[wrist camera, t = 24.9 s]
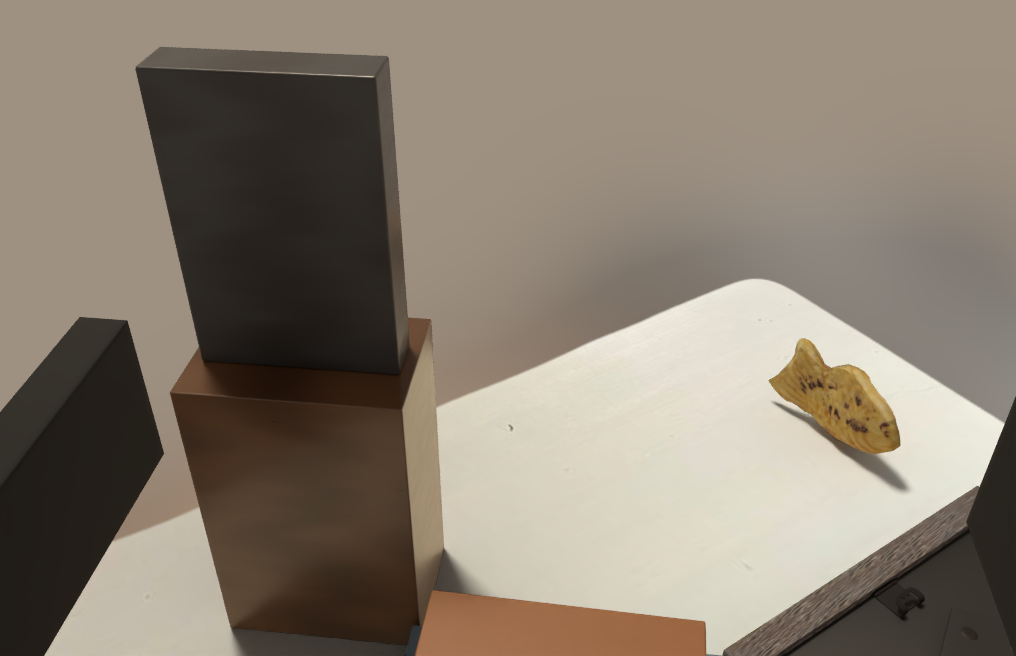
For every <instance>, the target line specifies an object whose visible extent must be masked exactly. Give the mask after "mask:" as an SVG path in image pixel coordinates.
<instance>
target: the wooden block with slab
mask: <svg viewBox="0 0 1016 656" xmlns="http://www.w3.org/2000/svg"><path fill="white" fill-rule="evenodd" d="M136 73H137V78H138V82H139V86H140V91H141V95H142V99H143V104H144V108H145V112H146V117H147V121H148V125H149V130H150V135H151V139H152V143H153V148H154V152H155V156H156V161H157V165H158V169H159V174H160V178H161V182H162V186H163V191H164V195H165V200H166V204H167V209H168V213H169V217H170V221H171V226H172V231H173V235H174V239H175V244H176V248H177V252H178V257H179V261H180V266H181V270H182V274H183V278H184V283H185V287H186V292H187V296H188V300H189V305H190V309H191V313H192V318H193V322H194V327H195V331H196V335H197V340H198V344H199V348H198V349H197V351H196V352H195V354H194V355H193V357H192V359H191V360H190V362H189V363H188V365H187V366H186V368H185V370H184V371H183V373H182V374H181V376H180V377H179V379H178V380H177V382H176V384H175V385H174V387H173V388H172V390H171V391H170V395H171V399H172V403H173V407H174V411H175V415H176V418H177V422H178V426H179V430H180V434H181V438H182V442H183V445H184V449H185V453H186V457H187V461H188V465H189V468H190V472H191V476H192V480H193V484H194V488H195V492H196V495H197V499H198V503H199V507H200V511H201V515H202V519H203V522H204V526H205V530H206V534H207V538H208V542H209V546H210V549H211V553H212V557H213V561H214V565H215V569H216V573H217V576H218V580H219V584H220V588H221V592H222V596H223V600H224V603H225V607H226V611H227V615H228V619H229V623H230V627H233V628H243V629H253V630H263V631H273V632H283V633H293V634H303V635H313V636H323V637H333V638H343V639H353V640H363V641H373V642H383V643H393V644H403V645H408V641H409V636H410V632H411V628H412V625H416V626H423V622H424V618H425V614H426V611H427V607H428V603H429V599H430V595H431V592H432V590H434V589H435V584H436V580H437V576H438V571H439V567H440V562H441V558H442V553H443V549H444V540H443V522H442V504H441V486H440V468H439V450H438V432H437V415H436V397H435V379H434V361H433V343H432V326H431V319H421V318H408V315H407V301H406V287H405V274H404V260H403V246H402V233H401V219H400V205H399V191H398V178H397V164H396V150H395V136H394V124H393V109H392V95H391V83H390V68H389V58H388V57H387V56H367V55H344V54H343V55H342V54H318V53H294V52H269V51H246V50H221V49H219V50H218V49H197V48H173V47H160V48H158V49H157V50H156V51H154V52H153V53H152V54H151V55H149V56H148V57H147V58H146V59H145V60H143V61H142V62H141V63H140V64H138V65H137V66H136Z"/></svg>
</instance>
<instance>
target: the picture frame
mask: <svg viewBox="0 0 1016 656" xmlns="http://www.w3.org/2000/svg"><path fill="white" fill-rule="evenodd" d="M979 488H980V487H979V486H976V487H975V488H973V489H972V490H970V491H969V492H967V493H966V494H964V495H962V496H961V497H959V498H958V499H956V500H955V501H953V502H952V503H950V504H949V505H947V506H945V507H944V508H942V509H941V510H939V511H938V512H936V513H935V514H933V515H932V516H930V517H929V518H927V519H925V520H924V521H922V522H921V523H919V524H918V525H916V526H915V527H913V528H912V529H910V530H908V531H907V532H905V533H904V534H902V535H901V536H899V537H898V538H896V539H895V540H893V541H891V542H890V543H888V544H887V545H885V546H884V547H882V548H881V549H879V550H878V551H876V552H875V553H873V554H871V555H870V556H868V557H867V558H865V559H864V560H862V561H861V562H859V563H858V564H856V565H854V566H853V567H851V568H850V569H848V570H847V571H845V572H844V573H842V574H841V575H839V576H838V577H836V578H834V579H833V580H831V581H830V582H828V583H827V584H825V585H824V586H822V587H821V588H819V589H817V590H816V591H814V592H813V593H811V594H810V595H808V596H807V597H805V598H804V599H802V600H800V601H799V602H797V603H796V604H794V605H793V606H791V607H790V608H788V609H787V610H785V611H784V612H782V613H780V614H779V615H777V616H776V617H774V618H773V619H771V620H770V621H768V622H767V623H765V624H763V625H762V626H760V627H759V628H757V629H756V630H754V631H753V632H751V633H750V634H748V635H747V636H745V637H743V638H742V639H740V640H739V641H737V642H736V643H734V644H733V645H731V646H730V647H728V648H726V649H725V650H724V652H723V656H1014V653H1013V650H1012V648H1011V645H1010V642H1009V639H1008V636H1007V634H1006V631H1005V628H1004V625H1003V623H1002V620H1001V617H1000V614H999V612H998V609H997V606H996V603H995V600H994V598H993V595H992V592H991V589H990V587H989V584H988V581H987V578H986V576H985V573H984V570H983V567H982V564H981V562H980V559H979V556H978V553H977V551H976V548H975V545H974V542H973V540H972V537H971V534H970V531H969V529H968V526H967V523H966V520H967V518H968V515H969V513H970V510H971V508H972V505H973V503H974V500H975V498H976V495H977V493H978V490H979Z"/></svg>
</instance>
